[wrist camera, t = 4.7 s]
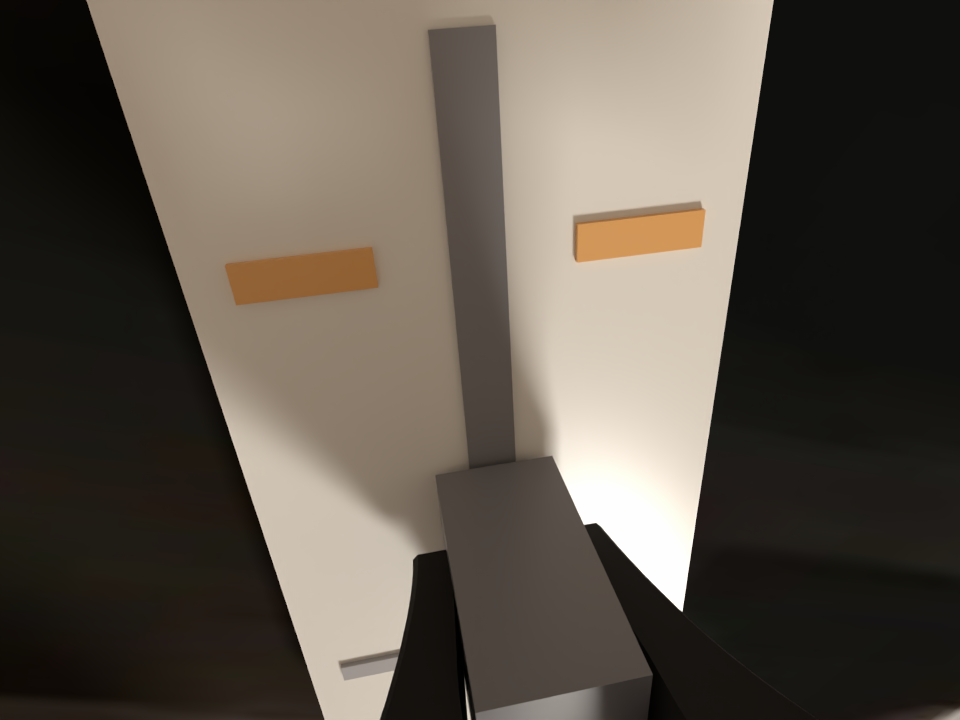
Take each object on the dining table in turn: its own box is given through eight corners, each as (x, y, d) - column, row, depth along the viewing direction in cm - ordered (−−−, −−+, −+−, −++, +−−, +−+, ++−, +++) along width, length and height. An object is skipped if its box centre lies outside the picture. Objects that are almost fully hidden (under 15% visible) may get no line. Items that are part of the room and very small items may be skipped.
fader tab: (449, 605, 14) (489, 858, 10) (432, 475, 12) (472, 718, 8) (555, 585, 14) (638, 821, 10) (554, 455, 13) (658, 677, 8)
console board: (341, 695, 19) (338, 767, 17) (49, -282, 8) (-45, -381, 6) (643, 633, 20) (672, 693, 18) (739, -289, 9) (835, -372, 7)
